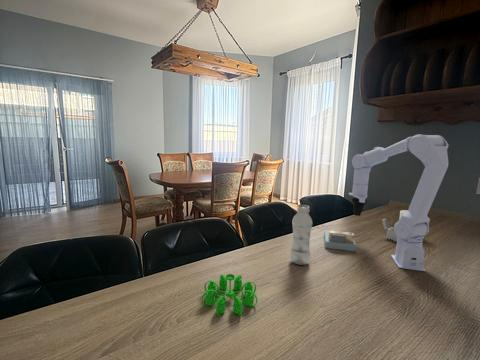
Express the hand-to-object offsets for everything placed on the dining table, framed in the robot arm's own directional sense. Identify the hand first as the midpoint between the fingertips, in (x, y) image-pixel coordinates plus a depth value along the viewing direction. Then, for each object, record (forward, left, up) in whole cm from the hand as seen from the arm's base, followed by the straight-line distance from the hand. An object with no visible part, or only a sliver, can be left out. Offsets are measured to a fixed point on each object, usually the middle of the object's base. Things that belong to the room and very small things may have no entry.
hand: (357, 215), depth 110 cm
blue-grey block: (-7, +7, -10) cm, 15 cm away
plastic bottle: (-30, +22, -11) cm, 38 cm away
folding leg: (-11, +7, -8) cm, 15 cm away
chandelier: (-56, +38, -11) cm, 69 cm away
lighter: (+5, -14, -11) cm, 19 cm away
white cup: (+14, -24, -11) cm, 30 cm away
